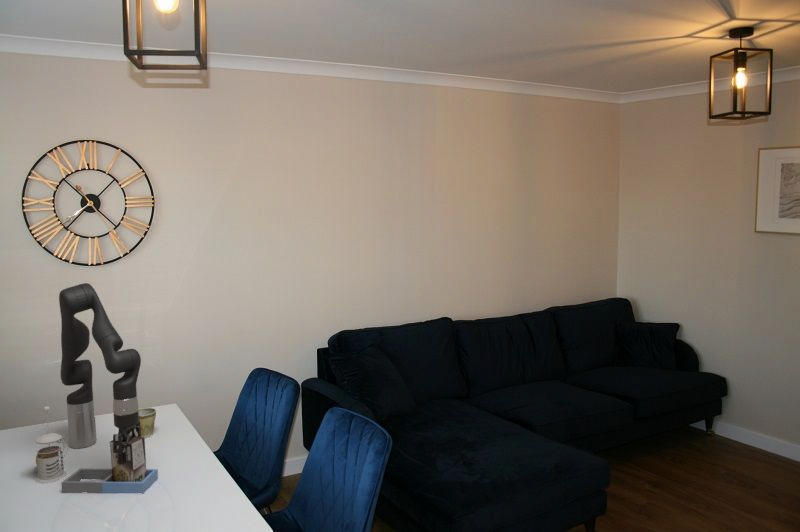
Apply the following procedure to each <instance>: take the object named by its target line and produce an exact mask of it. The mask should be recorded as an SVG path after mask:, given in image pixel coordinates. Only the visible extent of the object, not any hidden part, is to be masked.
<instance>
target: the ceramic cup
mask: <svg viewBox="0 0 800 532" xmlns="http://www.w3.org/2000/svg"><path fill="white" fill-rule="evenodd" d="M138 411H139V421H140V426H141V437H145V438H144V439H148V438H150V436H151V435H152V436H153V435H154V429H155V422H156V421H155V420H156V416H157V415H156V413H157V410H156V408H153V407H143V408H138ZM136 432H137V431H136ZM137 434H138V432H137ZM152 436H151V437H152ZM147 437H148V438H147Z"/></svg>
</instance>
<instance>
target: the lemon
mask: <svg viewBox="0 0 800 532" xmlns="http://www.w3.org/2000/svg"><path fill="white" fill-rule="evenodd" d="M37 455H38V452H37V453H36V456H35V464H36V465H37V464H38V463H37ZM45 456H51V455H43V456H41V457H40V459H41V458H43V457H45ZM45 459H47V458H45ZM46 466H48V467H50V466H52V465H46Z"/></svg>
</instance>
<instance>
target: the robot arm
mask: <svg viewBox="0 0 800 532" xmlns="http://www.w3.org/2000/svg"><path fill="white" fill-rule="evenodd" d="M58 301H59V310H60V318H61V332H60V333H61V335H60V342H61V343H60V344H61V361H60V362H61V363H60V380H61V383H62V384H63V385H64V386H69V387H70V386H77V385H78V386H79V385H82V386H81V387H80V388H78V389H76V390H74V391H73V392H71V393H69V394H67V396H66V410H67V412H66V414H67V426H68V427H67V428H68V441H69V443H68V446H69V447H70V448H71V449H83V448H88V447H92V446H93V445H95V444H96V442H97V441H96V440H97V428H96V427H97V426H96V416H95V407H94V406H95V405H94V390H93V365H92V362H91V360H90V359H80V360H78V359H79V358H80V357H81V356H82V355H83V354H84V353H85V352H86V351H87V349H88V348H89V345H90V336H91V335H90V334H92V338H93V340H94V341H95V343H96V345H97V346H98V347H99V349H100V351H101V353H102V357H103V361H104V365H105V368H106V370H107V371H108V372H109V373H111V374H114V375H117V374H118V375H119V374H122V373H123V375H122V376H121V377H119V378H118V379H116V380H114V382H113V383H112V393H113V394H112V396H113V405H112V411H113V425H114V427H116V428H118V433H117V434H113V436H112V438H113V439H112V440H113V452H114V453H118V462H119V464H125V463H126V452H125V451H126V446H127V444H128V443H129V440H130V439H131V438H133V436H135V437H136V436H138V437H141V426H140V421H139V411H138V409H139V399H138V392H137V391H138V390H137V381H138V379H139V378H138V377H139V373H140V368H141V363H142V359H141V354H140V352H138V351H139V350H137V349H135V348H128V349H122V347H124V341H123V339H122V337H121V336H120V334H119V333H118V331H117V330H116V328H115V327H114V326H113V324H112V323H111V320H110V319H109V316H108V314H107V313H106V312H107V311H106V310H105V308H104V305H103V304H102V302H101V299H100V297H99V295H98V293H97V292H96V290H95V288H94V287H93V285H92V284H90V283H88V282H86V283H79V284H77V285H73V286H70V287H66V288H63V289H62V290H61V291H59V295H58ZM90 309H91V310H92V311H93V320H92V321H93V322H92V327H91V333H90V329H89V327H88V325H86V324H85V323H84V322H83V321H81V320H79V319H78V318H77V317H76V316H75V315H76V314H79V313H82V312H85V311H89V310H90ZM121 349H122V350H121ZM136 431H137V432H138V434H137V432H136Z"/></svg>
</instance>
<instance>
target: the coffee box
mask: <svg viewBox="0 0 800 532" xmlns="http://www.w3.org/2000/svg"><path fill="white" fill-rule="evenodd" d="M145 439H146V438H145V437H138V436H136V437H135V436H133V438H131V439H130V440H129V443H128V444H127V446H126V451H125V452H126V463H125V464H119V462H118V453H114V452H113V439H112V440H110V441H109V451H110V465H111V468H110V469H112V482H142V481H143V480H144V479H145V478H146V477H147V475H146V469H147V462H146V461H147V460H146V443H145V442H146V441H145Z"/></svg>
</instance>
